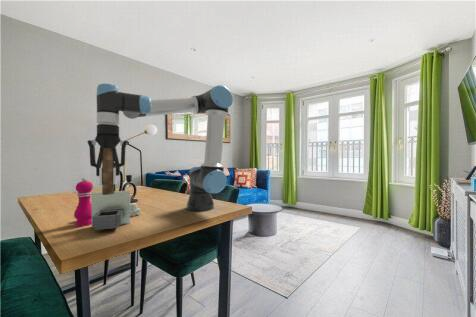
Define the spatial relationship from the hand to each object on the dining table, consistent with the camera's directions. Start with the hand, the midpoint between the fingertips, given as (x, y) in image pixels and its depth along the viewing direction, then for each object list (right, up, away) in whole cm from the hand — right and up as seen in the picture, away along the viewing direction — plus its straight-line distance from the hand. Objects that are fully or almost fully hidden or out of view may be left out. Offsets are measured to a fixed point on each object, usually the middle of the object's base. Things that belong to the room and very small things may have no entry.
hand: (108, 184), depth 84 cm
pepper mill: (-14, -18, +7) cm, 24 cm away
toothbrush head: (-9, -18, +16) cm, 26 cm away
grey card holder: (0, -18, +1) cm, 18 cm away
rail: (0, -4, 0) cm, 4 cm away
